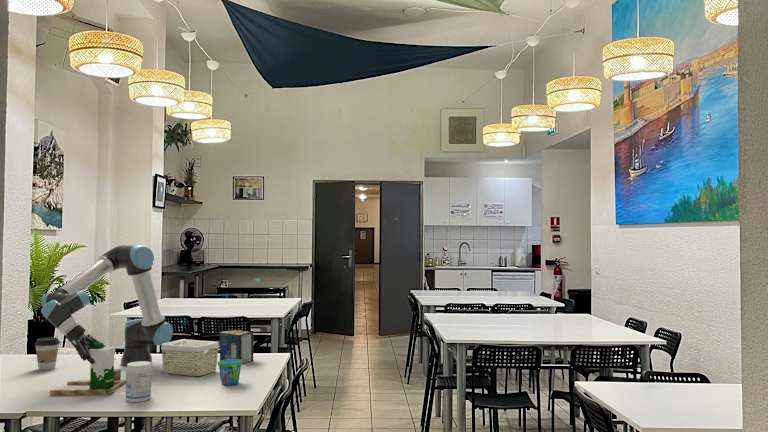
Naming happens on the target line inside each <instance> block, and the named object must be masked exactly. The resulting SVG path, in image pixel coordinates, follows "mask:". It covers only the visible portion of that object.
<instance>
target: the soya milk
mask: <svg viewBox="0 0 768 432" xmlns="http://www.w3.org/2000/svg"><path fill="white" fill-rule="evenodd" d="M103 344H104V342H101V343H94V344H93V348H90V349H89V348H88V350H89V352H90V356H91V355H93V356H94V357H95V358H96V359H97V360H98V361H99V362H100V363H101V364H102V365H103V366H102V367H101V368H100V369H99V370H98V371H97V370H96V369H95V368H94V367H93V366H92V365H91V364H90V370H89V371H90V376H89V378H90V379H89V380H90V385H89V389H107V390H108V389H110V388H111V387H113V386H115V384H114V369H115V367H114V366H115V360H114V358H115V355H116V354H115V353H116V348H117V347H114V346H106V347H103Z"/></svg>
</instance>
